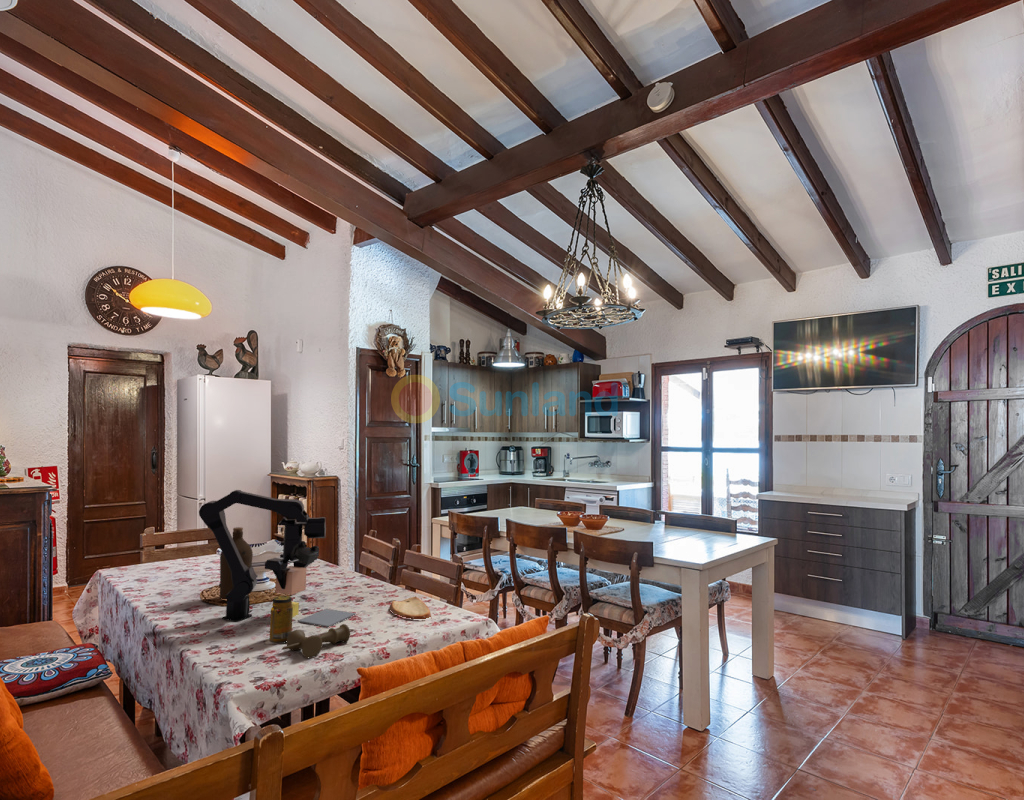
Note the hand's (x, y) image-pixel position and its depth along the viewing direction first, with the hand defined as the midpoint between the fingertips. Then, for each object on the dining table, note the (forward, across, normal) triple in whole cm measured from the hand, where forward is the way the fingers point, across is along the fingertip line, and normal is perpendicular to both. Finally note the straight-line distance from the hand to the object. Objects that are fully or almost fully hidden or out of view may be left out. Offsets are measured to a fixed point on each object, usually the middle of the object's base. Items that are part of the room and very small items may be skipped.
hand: (290, 586), depth 193 cm
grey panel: (+10, +3, -13) cm, 16 cm away
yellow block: (+10, 0, 0) cm, 10 cm away
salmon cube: (+2, 0, 0) cm, 2 cm away
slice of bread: (+10, +21, -34) cm, 41 cm away
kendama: (+10, -20, -27) cm, 35 cm away
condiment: (+10, -18, -14) cm, 25 cm away
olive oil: (+10, +7, +31) cm, 33 cm away
